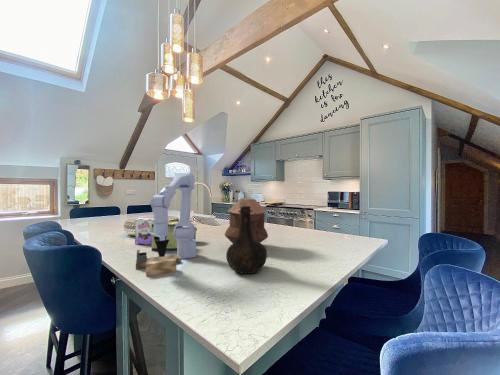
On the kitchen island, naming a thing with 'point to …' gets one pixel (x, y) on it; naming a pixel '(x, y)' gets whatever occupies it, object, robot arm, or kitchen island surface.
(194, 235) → the food container
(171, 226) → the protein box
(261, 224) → the pottery vessel
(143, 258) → the cup bracket
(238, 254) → the dark brown ceramic vase
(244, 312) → the kitchen island surface
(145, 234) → the candy box
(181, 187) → the robot arm
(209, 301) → the kitchen island surface
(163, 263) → the oak rail
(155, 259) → the walnut base board
